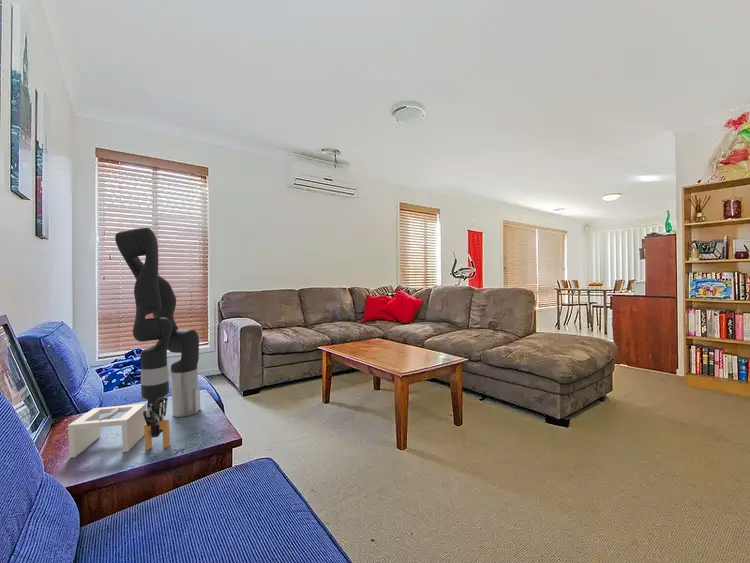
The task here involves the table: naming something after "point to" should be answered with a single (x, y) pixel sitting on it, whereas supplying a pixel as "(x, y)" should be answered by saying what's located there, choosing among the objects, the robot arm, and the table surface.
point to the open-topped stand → (89, 426)
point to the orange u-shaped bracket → (162, 425)
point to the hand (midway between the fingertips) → (157, 434)
